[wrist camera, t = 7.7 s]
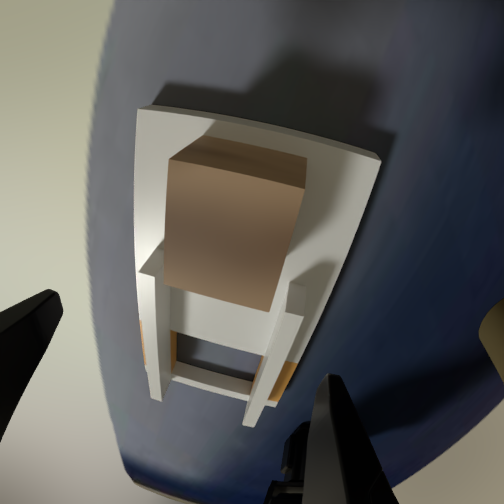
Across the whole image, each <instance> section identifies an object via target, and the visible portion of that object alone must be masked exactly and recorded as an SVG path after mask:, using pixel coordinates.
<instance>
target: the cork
mask: <svg viewBox="0 0 504 504" xmlns="http://www.w3.org/2000/svg"><path fill="white" fill-rule="evenodd" d="M479 339H480V340H481V342H482V344H483V346H484V347H485V349H486V351H487V353H488V354H489V356H490V358H491V360H492V362H493V363H494V365H495V367H496V369H497V371H498V373H499V375H500V377H501V379H502V381H503V382H504V298H503V299H502V300H501V301H499V302H498V303H497V304H495V306H494V307H493V308H492V309H491V310H490V311H489V312H488V313H487V315H486V316H485V318H484V319H483V321H482V323H481V326H480V329H479Z"/></svg>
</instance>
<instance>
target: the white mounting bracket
mask: <svg viewBox="0 0 504 504" xmlns="http://www.w3.org/2000/svg"><path fill="white" fill-rule="evenodd" d="M202 135H205V136H210V137H216V138H221V139H226V140H231V141H236V142H241V143H246V144H250V145H255V146H260V147H264V148H268V149H273V150H277V151H281V152H285V153H290V154H294V155H298V156H301V157H305V158H307V169H306V184H305V191H304V195H303V199H302V202H301V206H300V209H299V213H298V217H297V220H296V224H295V227H294V231H293V234H292V238H291V241H290V245H289V248H288V251H287V255H286V258H285V262H284V265H283V268H282V272H281V275H280V279H279V282H278V285H277V289H276V292H275V295H274V298H273V302H272V305H271V308H270V311H269V312H265V311H261V310H257V309H253V308H249V307H245V306H241V305H237V304H233V303H229V302H226V301H222V300H218V299H215V298H211V297H207V296H204V295H200V294H196V293H193V292H189V291H186V290H182V289H179V288H175V287H172V286H168V285H165V284H163V283H164V231H165V208H166V190H167V175H168V161H169V158H171V157H172V156H174V155H175V154H176V153H178V152H179V151H181V150H182V149H183V148H185V147H186V146H188V145H189V144H191V143H192V142H194V141H195V140H196V139H198V138H199V137H201V136H202ZM380 164H381V160H380V158H379V157H378V156H377V154H376V153H374V152H371V151H368V150H365V149H362V148H358V147H355V146H352V145H348V144H345V143H342V142H338V141H335V140H331V139H328V138H324V137H320V136H317V135H313V134H309V133H305V132H301V131H297V130H293V129H289V128H285V127H281V126H276V125H272V124H267V123H263V122H258V121H253V120H248V119H243V118H238V117H233V116H227V115H222V114H216V113H210V112H204V111H197V110H190V109H183V108H176V107H168V106H160V105H148V106H145V107H142V108H139V109H138V111H137V125H136V141H135V165H134V241H135V265H136V282H137V296H138V308H139V319H140V329H141V338H142V347H143V355H144V363H145V370H146V371H147V373H148V381H149V387H150V394H151V398H153V399H155V400H158V401H161V402H162V401H163V398H164V396H165V393H166V391H167V388H168V386H169V384H170V381H171V380H174V381H178V382H181V383H184V384H187V385H190V386H194V387H197V388H201V389H204V390H208V391H211V392H215V393H218V394H222V395H226V396H230V397H234V398H237V399H242V400H246V401H248V402H247V406H246V411H245V415H244V419H243V423H242V425H245V426H249V427H254V426H255V424H256V422H257V420H258V418H259V416H260V414H261V412H262V410H263V408H264V406H265V405H267V406H272V407H276V405H277V403H278V401H279V399H280V397H281V396H282V394H283V392H284V390H285V388H286V386H287V384H288V382H289V380H290V378H291V376H292V374H293V372H294V370H295V368H296V366H297V364H298V362H299V360H300V358H301V356H302V354H303V352H304V350H305V348H306V346H307V344H308V342H309V340H310V338H311V336H312V333H313V331H314V329H315V327H316V325H317V323H318V321H319V318H320V316H321V314H322V312H323V310H324V307H325V305H326V303H327V301H328V298H329V296H330V294H331V292H332V289H333V287H334V285H335V282H336V280H337V278H338V275H339V273H340V270H341V268H342V266H343V263H344V261H345V258H346V256H347V253H348V251H349V249H350V246H351V244H352V241H353V238H354V236H355V233H356V231H357V228H358V226H359V223H360V220H361V218H362V215H363V212H364V210H365V207H366V204H367V202H368V199H369V196H370V193H371V190H372V188H373V185H374V182H375V179H376V176H377V173H378V170H379V167H380ZM177 332H179V333H182V334H186V335H189V336H192V337H196V338H199V339H203V340H206V341H210V342H213V343H217V344H220V345H224V346H228V347H232V348H235V349H239V350H243V351H247V352H251V353H255V354H259V355H262V357H261V360H260V363H259V366H258V369H257V371H256V374H255V377H254V380H253V382H251V381H247V380H243V379H239V378H235V377H231V376H227V375H223V374H220V373H216V372H213V371H209V370H205V369H202V368H199V367H195V366H192V365H189V364H185V363H182V362H179V361H177Z"/></svg>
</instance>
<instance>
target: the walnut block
mask: <svg viewBox="0 0 504 504" xmlns="http://www.w3.org/2000/svg"><path fill="white" fill-rule="evenodd" d="M306 169H307V158H305V157H301V156H298V155H294V154H290V153H285V152H281V151H277V150H273V149H268V148H264V147H260V146H255V145H250V144H246V143H241V142H236V141H231V140H226V139H221V138H216V137H210V136H205V135H202V136H201V137H199V138H198V139H196V140H195V141H194V142H192V143H191V144H189V145H188V146H186V147H185V148H183V149H182V150H181V151H179V152H178V153H176V154H175V155H174V156H172V157H171V158H169V161H168V175H167V190H166V208H165V231H164V283H163V284H165V285H168V286H172V287H175V288H179V289H182V290H186V291H189V292H193V293H196V294H200V295H204V296H207V297H211V298H215V299H218V300H222V301H226V302H229V303H233V304H237V305H241V306H245V307H249V308H253V309H257V310H261V311H265V312H269V311H270V308H271V305H272V302H273V298H274V295H275V292H276V289H277V285H278V282H279V279H280V275H281V272H282V268H283V265H284V262H285V258H286V255H287V251H288V248H289V245H290V241H291V238H292V234H293V231H294V227H295V224H296V220H297V217H298V213H299V209H300V206H301V202H302V199H303V195H304V191H305V184H306Z"/></svg>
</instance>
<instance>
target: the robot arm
mask: <svg viewBox="0 0 504 504" xmlns="http://www.w3.org/2000/svg"><path fill="white" fill-rule="evenodd" d="M62 315H63V307H62V303H61V300H60V296H59V294H58V293H57V292H56V291H53V290H51V289H47V290H44V291H42V292H40V293H38V294H36V295H34V296H32V297H30V298H28V299H26V300H24V301H22V302H20V303H18V304H16V305H14V306H12V307H10V308H8V309H6V310H4V311H2V312H0V442H1V440H2V437H3V435H4V432H5V430H6V428H7V425H8V423H9V421H10V419H11V417H12V415H13V413H14V411H15V409H16V406H17V405H18V402H19V400H20V398H21V396H22V394H23V392H24V391H25V389H26V387H27V385H28V383H29V381H30V379H31V377H32V375H33V373H34V371H35V370H36V368H37V366H38V364H39V362H40V361H41V359H42V357H43V355H44V353H45V352H46V349H47V347H48V345H49V343H50V341H51V339H52V336H53V334H54V332H55V330H56V328H57V326H58V324H59V321H60V319H61V317H62ZM382 470H383V469H382V467H381V464H380V462H379V460H378V457H377V455H376V453H375V451H374V448H373V446H372V444H371V442H370V439H369V437H368V435H367V433H366V431H365V428H364V426H363V424H362V422H361V419H360V417H359V415H358V413H357V411H356V408H355V406H354V404H353V402H352V400H351V397H350V395H349V393H348V391H347V389H346V387H345V384H344V382H343V380H342V378H341V377H340V376H339V375H335V374H330V373H328V374H326V376H325V377H324V379H323V380H322V382H321V383H320V385H319V387H318V389H317V392H316V396H315V402H314V407H313V413H312V418H311V423H310V425H306V424H302V425H300V426H299V427H298V428H297V430H296V431H295V432H294V434H292V435H290V437H289V438H288V439H287V440H286V442H285V445H284V452H283V458H282V464H281V473H284V474H285V477H284V482H281V481H274V480H272V482H271V484H270V486H269V488H268V491H267V494H266V498H265V501H264V503H263V504H399V503H398V501H397V499H396V497H395V495H394V493H393V491H392V489H391V487H390V485H389V482H388V480H387V478H386V476H385V473H384V471H382Z"/></svg>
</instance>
